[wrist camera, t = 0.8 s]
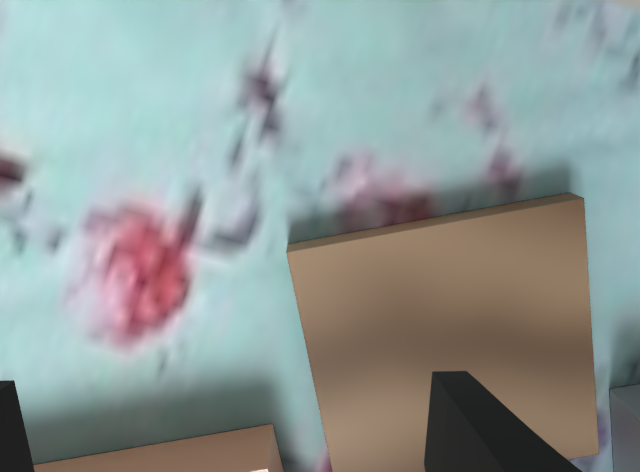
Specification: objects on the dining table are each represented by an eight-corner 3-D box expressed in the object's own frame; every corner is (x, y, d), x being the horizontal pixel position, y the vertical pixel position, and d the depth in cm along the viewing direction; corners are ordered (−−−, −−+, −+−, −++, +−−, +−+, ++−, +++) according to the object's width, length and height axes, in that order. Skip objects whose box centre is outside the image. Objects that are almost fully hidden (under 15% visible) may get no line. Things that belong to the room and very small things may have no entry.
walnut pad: (586, 438, 22) (598, 453, 21) (336, 479, 22) (338, 497, 22) (570, 192, 20) (583, 198, 19) (287, 244, 20) (286, 252, 19)
